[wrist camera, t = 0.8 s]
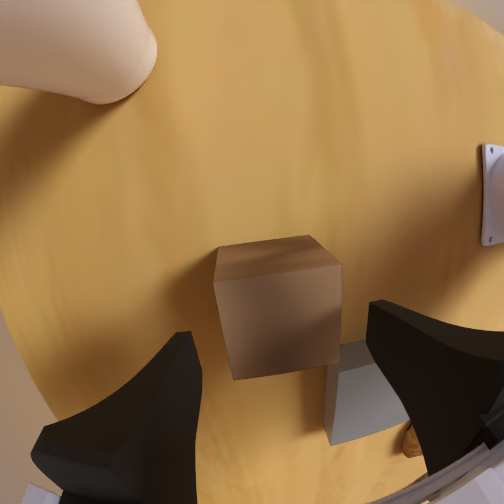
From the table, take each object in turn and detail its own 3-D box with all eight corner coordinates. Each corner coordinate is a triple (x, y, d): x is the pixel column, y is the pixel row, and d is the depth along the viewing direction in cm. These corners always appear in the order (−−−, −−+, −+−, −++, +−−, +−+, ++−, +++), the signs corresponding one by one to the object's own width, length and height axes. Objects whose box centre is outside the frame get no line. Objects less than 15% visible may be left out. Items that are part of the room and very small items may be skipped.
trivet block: (429, 317, 18) (450, 336, 15) (409, 394, 21) (422, 414, 18) (325, 345, 18) (339, 372, 15) (322, 421, 21) (330, 446, 18)
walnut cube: (308, 234, 15) (341, 263, 11) (312, 312, 17) (338, 362, 12) (218, 246, 15) (213, 282, 10) (232, 325, 17) (233, 380, 12)
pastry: (428, 439, 25) (439, 457, 21) (388, 454, 25) (398, 475, 21) (457, 392, 22) (473, 412, 19) (414, 408, 22) (430, 432, 18)
